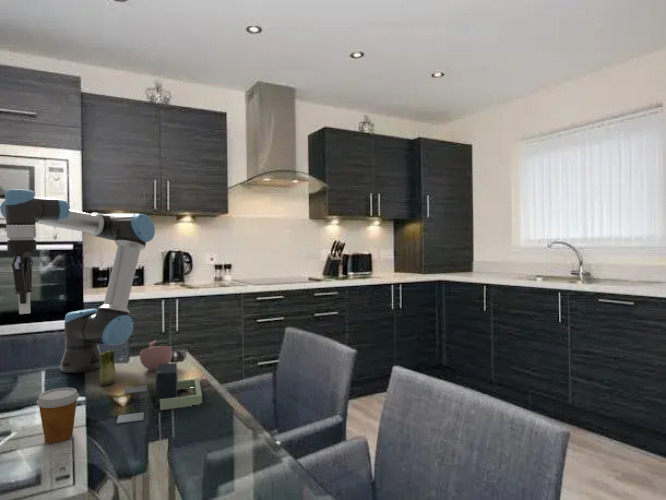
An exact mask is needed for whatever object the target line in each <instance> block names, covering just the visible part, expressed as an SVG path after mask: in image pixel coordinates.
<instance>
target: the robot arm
mask: <svg viewBox="0 0 666 500" xmlns="http://www.w3.org/2000/svg"><path fill="white" fill-rule="evenodd" d="M0 213H1V215H2V216H3V218H5V223H6V228H4V232H6V238H7V240H6V247H7V248H6V249H7V252H9V253H14V257H13V261H12V262H11V267H12V273H13V274H12V275H13V281H14V287H15V289H14V290H15V291H14V294H17V295H18V296H17V297H18V314H19V315H24V314H25V315H26V314H31V294H30V293H32V292H34V289H33V288H32V285H33V284H32V283H33V263H34V260H33V258H32V256H31V252H36V251H37V240H36V238H37V228H36V227H37V226H36V224H40V225H43V226H50V227H57V228H62V229H67V230H71V231H72V230H73V231H78V232H82V233H87V234H88V236H92V237H95V238H96V237H97V238H101V239H105V240H108V241H113V242H114V243H115V244H116V246H117V249H116V253H115V258H114V260H113V265H112V270H111V273H110V277H109V281H108V285H107V288H106V293H105V297H104V300H103V304H102V305H100V306H99V307H98V308H88V309H81V310H76V311H74V310H73V311H70V312H67V313H66V314H65V317H64V344H65V345H64V346H65V348H64V353H63V356H62V359H61V361H60V366H59V367H60V371H61V372H63V373H67V374H68V373H69V374H71V373H72V374H75V373H76V374H77V373H83V372H90V371H94V370H98V369H101V356H100V354H102V352H101V349H100V347H99V345H106V346H117V345H118V346H120V345H122V344H123V343H125V342H126V341H127V340H128V339H129V338H130V337H131V335H132V333H133V331H134V322H133V318H131V317H130V314H131V312H130V311H129V309H128V304H129V300H130V297H131V295H130V294H131V292H132V287H133V282H134V279H135V275H136V270H137V266H138V262H139V257H140V253H141V251H143V250H145V248H146V244H147V243H148V242H151V241H152V240H153V239H154V237H155V234H156V231H155V230H156V229H155V228H156V227H155V224H154V222H153V220H152V219H151V217H150V216H149V215H147V214H145V213H137V212H135V213H106V214H105V213H98V212H92V213H88V212H87V213H86V212H83V211H78V210H76V209H75V210H74V209H70V204H69V203H68V201H67V200H66V199H62V198H57V197H37V196H35V192H34V191H33V190H29V189H8V190H6V191H5V193H4V201H2V202H1V204H0Z"/></svg>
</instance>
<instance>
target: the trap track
mask: <svg viewBox="0 0 666 500" xmlns="http://www.w3.org/2000/svg"><path fill="white" fill-rule="evenodd" d="M148 386H149V385H139V386H130V387H129V386H128V387H125V390H124V395H129V394H130V395H131V394H136V393H137V394H138V393H146V392H148ZM190 387H194V388H195V389H194V388H193V389H194V394H193V395H185V396H177V397H174V398H166V399H160V405H159V410H160V411H163V410H164V411H165V410H172V409H179V408H187V407H188V406H189V407H193V406H192V405H196V404H200V403H202V404H203V394H202V388H201V383H200V378H191V379H189V378H188V379H180V380H178V379H177V391H182V390H181V389H183V390H186V389H185V388H190ZM195 394H196V395H195ZM144 416H145V412H144V411H143V412H135V413H126V414H118V416H117V420H116V425H120V424H126V423H133V422H142V421H144Z"/></svg>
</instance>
